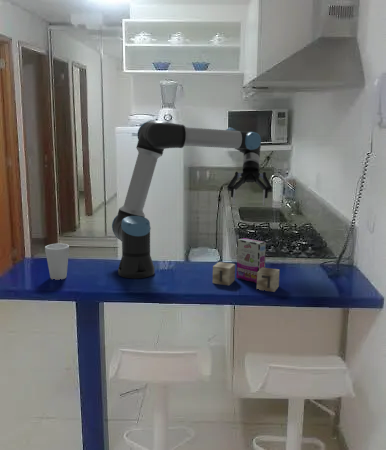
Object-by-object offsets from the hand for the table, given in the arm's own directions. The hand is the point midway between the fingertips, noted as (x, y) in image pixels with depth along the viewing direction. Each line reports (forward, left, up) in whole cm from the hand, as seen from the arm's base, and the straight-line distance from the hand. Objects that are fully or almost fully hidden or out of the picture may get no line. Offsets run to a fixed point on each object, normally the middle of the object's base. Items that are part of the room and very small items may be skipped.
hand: (248, 203), depth 212 cm
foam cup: (-65, -49, -28) cm, 86 cm away
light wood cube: (+16, -26, -28) cm, 42 cm away
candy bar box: (+7, -19, -28) cm, 35 cm away
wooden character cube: (-2, -26, -28) cm, 38 cm away
